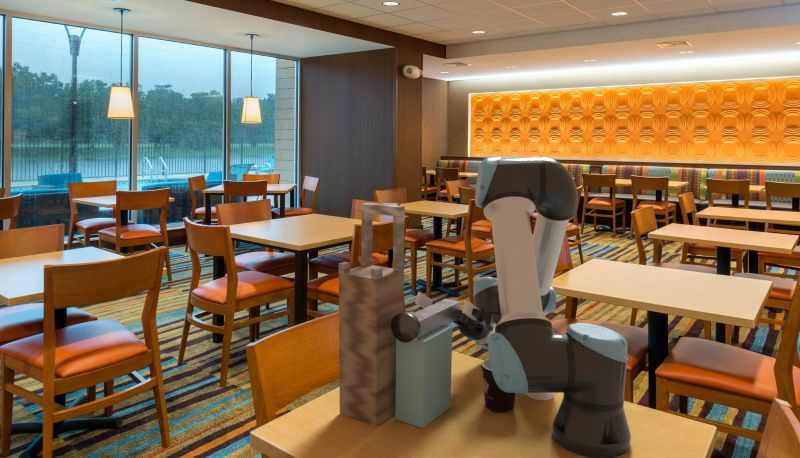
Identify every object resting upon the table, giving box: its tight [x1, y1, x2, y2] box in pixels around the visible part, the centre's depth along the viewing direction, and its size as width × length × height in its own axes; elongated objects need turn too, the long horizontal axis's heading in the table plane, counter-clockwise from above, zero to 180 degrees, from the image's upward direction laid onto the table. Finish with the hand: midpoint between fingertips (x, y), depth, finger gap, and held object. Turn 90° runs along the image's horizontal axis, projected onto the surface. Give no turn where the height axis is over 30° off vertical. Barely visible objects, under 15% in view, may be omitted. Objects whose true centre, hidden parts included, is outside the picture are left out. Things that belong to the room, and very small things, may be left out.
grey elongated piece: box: [391, 298, 462, 343], centre depth 130 cm, size 6×21×6 cm, turn 146°
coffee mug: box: [481, 358, 517, 414], centre depth 136 cm, size 12×9×10 cm
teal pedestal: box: [394, 325, 453, 429], centre depth 130 cm, size 7×12×19 cm, turn 146°
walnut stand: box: [338, 202, 406, 427], centre depth 129 cm, size 10×10×46 cm
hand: (440, 301), depth 133 cm, fingers open, 11 cm apart
